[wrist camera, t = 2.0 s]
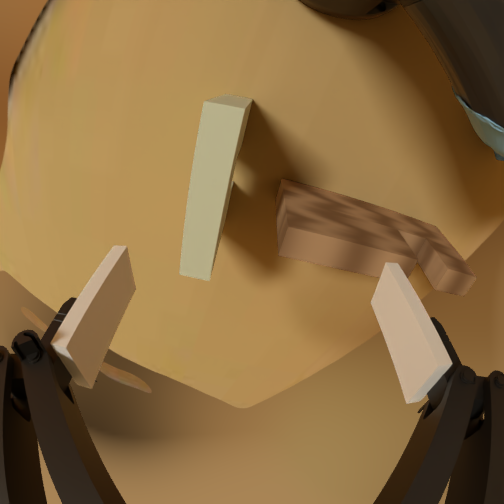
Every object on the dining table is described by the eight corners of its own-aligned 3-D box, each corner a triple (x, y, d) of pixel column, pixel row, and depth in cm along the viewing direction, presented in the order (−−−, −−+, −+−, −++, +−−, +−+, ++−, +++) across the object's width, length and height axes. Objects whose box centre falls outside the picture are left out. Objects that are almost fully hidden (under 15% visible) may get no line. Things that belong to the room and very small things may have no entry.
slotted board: (275, 200, 35) (278, 255, 25) (281, 178, 34) (288, 226, 24) (427, 243, 37) (464, 296, 27) (436, 226, 36) (477, 277, 26)
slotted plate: (226, 93, 28) (204, 101, 18) (252, 99, 29) (245, 108, 19) (202, 217, 37) (179, 274, 27) (225, 221, 37) (209, 281, 27)
